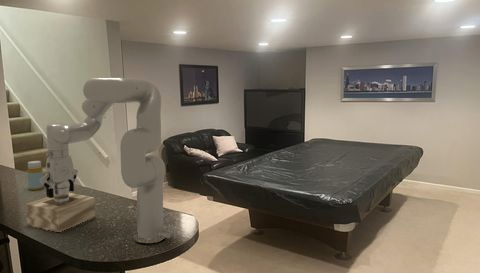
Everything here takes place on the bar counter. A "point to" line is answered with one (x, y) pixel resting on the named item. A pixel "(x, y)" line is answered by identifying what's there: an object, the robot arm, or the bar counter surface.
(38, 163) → the bottle
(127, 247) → the bar counter surface
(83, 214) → the well block
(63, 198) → the plastic bottle
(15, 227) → the bar counter surface
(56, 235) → the bar counter surface
